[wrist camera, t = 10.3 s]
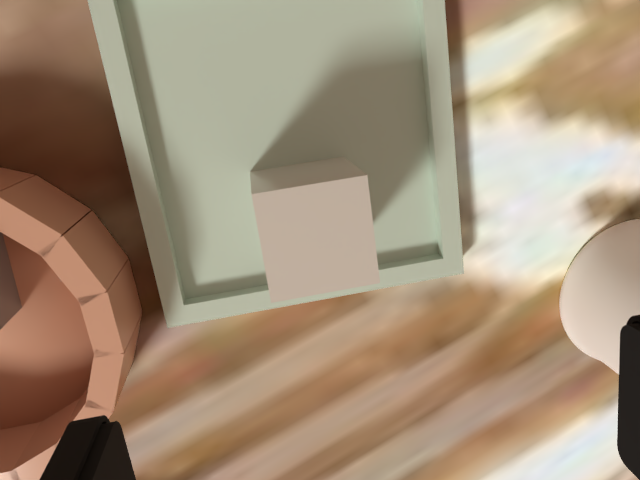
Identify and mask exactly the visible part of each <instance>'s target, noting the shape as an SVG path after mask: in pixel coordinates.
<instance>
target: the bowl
mask: <svg viewBox="0 0 640 480" xmlns="http://www.w3.org/2000/svg"><path fill="white" fill-rule="evenodd" d="M90 211H91V209H90V208H88V207H87V206H85V205H83V204H82V203H80V202H79V201H77V200H75V199H74V198H72V197H71V196H69V195H67V194H66V193H64V192H63V191H61V190H59V189H58V188H56V187H55V186H53V185H51V184H50V183H48V182H47V181H45V180H43V179H42V178H40V177H39V176H37V175H36V176H35V174H30V173H25V172H21V171H16V170H11V169H7V168H2V167H0V232H1V233H2V234H3V237H4V241H5V245H6V249H7V252H8V256H9V260H10V264H11V267H12V271H13V275H14V279H15V282H16V286H17V290H18V294H19V297H20V301H21V305H22V308H21V309H20V310H19V311H18V312H17V313H16V314H15V315H14V316H13V317H12V318H11V319H10V320H9V321H8V322H7V323H6V325H5V326H4V327H3V328H2V329H1V330H0V480H40V478H41V476H42V474H43V472H44V470H45V468H46V466H47V464H48V462H49V460H50V458H51V456H52V454H53V452H54V451H55V449H56V447H57V445H58V443H59V441H60V439H61V437H62V435H63V433H64V431H65V429H66V427H67V425H68V424H69V423H70V422H71V421H75V420H80V419H86V418H91V417H96V416H102V415H105V416H107V418H108V419H109V417H110V416H111V414H112V413H113V411H114V409H115V406H116V404H117V401H118V399H119V396H120V394H121V391H122V388H123V386H124V383H125V381H126V378H127V376H128V373H129V371H130V368H131V366H132V363H133V360H134V354H135V349H136V344H137V338H138V333H139V328H140V322H141V317H142V308H141V304H140V300H139V296H138V292H137V288H136V284H135V280H134V276H133V273H132V269H131V265H130V261H129V259H128V256H127V255H126V254H125V253H124V251H123V250H122V249H121V247H120V246H119V245H118V243H117V242H116V241H115V239H114V238H113V237H112V235H111V234H110V233H109V232H108V230H107V229H106V228H105V226H104V225H103V224H102V222H101V221H100V220H99V218H98V217H97V216H96V214H95V213H94V212H93V211H91V212H90Z"/></svg>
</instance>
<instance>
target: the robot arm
mask: <svg viewBox="0 0 640 480" xmlns="http://www.w3.org/2000/svg"><path fill="white" fill-rule="evenodd" d="M617 446H618V451H619V455H620V457H621V459H622V461H623V463H624V464H625V465H626V467H627V468H628V469H629V470H630V471H631V472H632V473H633V474H634V475H635V476H636V477H637V478H638V479H639V480H640V315H635V316H632V317H630V318H629V319H628V321H627V324H626V325H624V326H623V327H622V329H621V331H620V356H619V397H618V439H617ZM40 480H136V478H135V475H134V471H133V468H132V464H131V460H130V457H129V453H128V449H127V446H126V442H125V439H124V435H123V431H122V428H121V425H120V424H119V422H117V421H115V422H110V421H109V419H108V418H107V416H105V415H102V416H96V417H91V418H86V419H80V420H75V421H71V422H70V423H69V424H68V425H67V427H66V429H65V431H64V433H63V435H62V437H61V439H60V441H59V443H58V445H57V447H56V449H55V451H54V452H53V454H52V456H51V458H50V460H49V462H48V464H47V466H46V468H45V470H44V472H43V474H42V476H41V478H40Z"/></svg>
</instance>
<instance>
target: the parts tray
mask: <svg viewBox="0 0 640 480" xmlns="http://www.w3.org/2000/svg"><path fill="white" fill-rule="evenodd" d="M88 4H89V8H90V12H91V16H92V21H93V25H94V29H95V33H96V37H97V41H98V45H99V49H100V53H101V57H102V61H103V66H104V70H105V74H106V78H107V82H108V86H109V90H110V94H111V98H112V102H113V107H114V111H115V115H116V119H117V123H118V127H119V131H120V135H121V139H122V143H123V148H124V152H125V156H126V160H127V164H128V168H129V172H130V176H131V180H132V184H133V188H134V193H135V197H136V201H137V205H138V209H139V213H140V217H141V221H142V225H143V229H144V234H145V238H146V242H147V246H148V250H149V254H150V258H151V262H152V266H153V270H154V275H155V279H156V283H157V287H158V291H159V295H160V299H161V303H162V307H163V311H164V316H165V320H166V324H167V328H170V327H175V326H181V325H186V324H192V323H197V322H203V321H208V320H214V319H219V318H224V317H230V316H235V315H241V314H246V313H252V312H257V311H263V310H268V309H273V308H279V307H284V306H290V305H295V304H301V303H306V302H311V301H317V300H322V299H328V298H333V297H339V296H344V295H350V294H355V293H360V292H366V291H371V290H377V289H382V288H388V287H393V286H399V285H404V284H409V283H415V282H420V281H426V280H431V279H437V278H442V277H448V276H453V275H458V274H464V267H463V253H462V238H461V224H460V210H459V196H458V182H457V167H456V153H455V139H454V125H453V111H452V96H451V82H450V68H449V54H448V40H447V25H446V11H445V0H88ZM342 156H343V157H345V158H346V159H347V160H349V161H350V162H351V163H352V164H354V165H355V166H356V167H358V168H359V169H360V170H362V171H363V172H364V173H365V174H367V176H368V185H369V193H370V202H371V210H372V218H373V227H374V235H375V244H376V252H377V261H378V269H379V278H380V283H378V284H372V285H367V286H361V287H356V288H350V289H345V290H339V291H334V292H328V293H323V294H317V295H312V296H306V297H301V298H296V299H290V300H285V301H279V302H274V303H271V299H270V294H269V288H268V283H267V277H266V272H265V266H264V261H263V255H262V250H261V244H260V239H259V233H258V228H257V222H256V217H255V211H254V206H253V200H252V195H251V179H250V171H256V170H262V169H268V168H275V167H281V166H287V165H293V164H299V163H305V162H312V161H318V160H324V159H330V158H336V157H342Z"/></svg>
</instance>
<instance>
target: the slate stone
mask: <svg viewBox="0 0 640 480" xmlns="http://www.w3.org/2000/svg"><path fill="white" fill-rule="evenodd" d="M21 308H22V305H21V301H20V297H19V294H18V290H17V286H16V282H15V279H14V275H13V271H12V267H11V264H10V260H9V256H8V252H7V249H6V245H5V241H4V237H3V234H2V233H1V232H0V330H1V329H2V328H3V327H4V326H5V325H6V323H7V322H8V321H9V320H10V319H11V318H12V317H13V316H14V315H15V314H16V313H17V312H18V311H19V310H20V309H21Z"/></svg>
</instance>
